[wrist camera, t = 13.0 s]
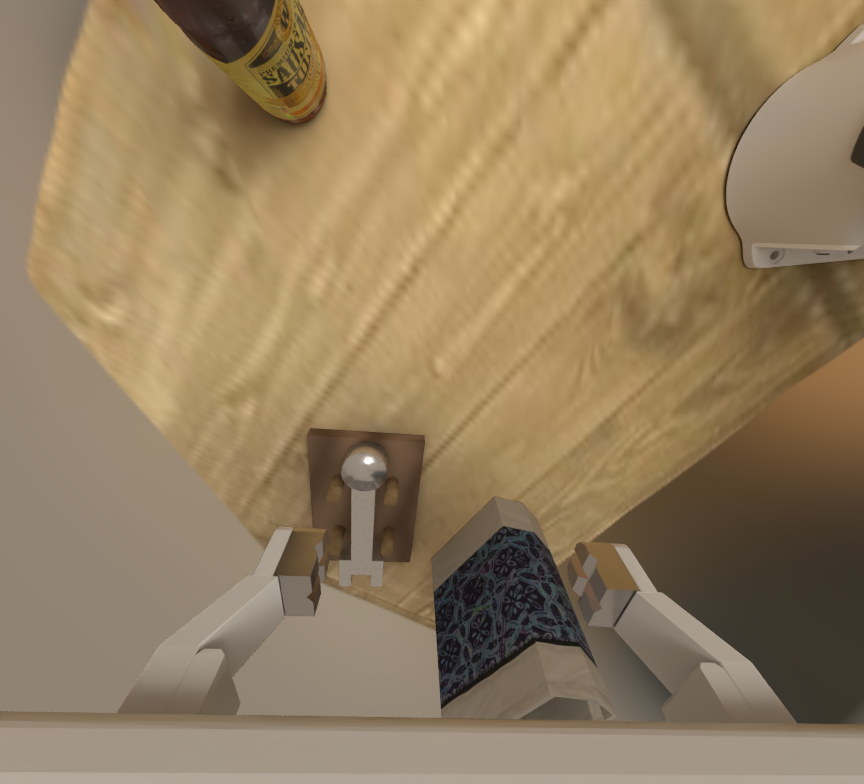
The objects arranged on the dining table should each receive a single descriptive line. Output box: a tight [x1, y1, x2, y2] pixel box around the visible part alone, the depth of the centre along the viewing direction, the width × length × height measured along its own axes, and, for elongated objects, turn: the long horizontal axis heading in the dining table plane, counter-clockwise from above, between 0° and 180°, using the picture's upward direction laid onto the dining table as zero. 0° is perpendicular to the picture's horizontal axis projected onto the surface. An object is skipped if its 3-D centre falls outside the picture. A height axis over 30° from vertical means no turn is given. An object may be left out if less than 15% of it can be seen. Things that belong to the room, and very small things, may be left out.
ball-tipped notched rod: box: [339, 441, 388, 587], centre depth 44 cm, size 23×6×3 cm, turn 173°
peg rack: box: [307, 428, 425, 562], centre depth 44 cm, size 14×22×5 cm, turn 173°
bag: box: [432, 497, 617, 721], centre depth 33 cm, size 18×9×40 cm, turn 144°
